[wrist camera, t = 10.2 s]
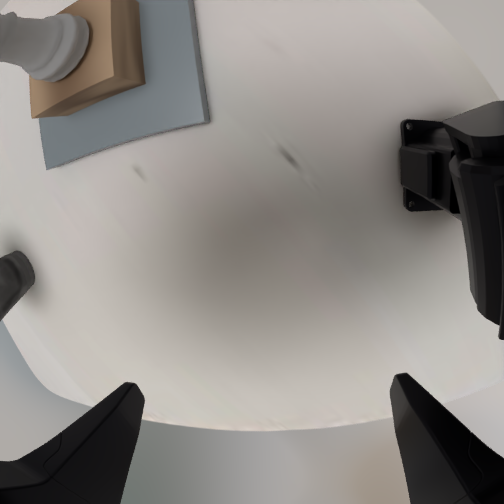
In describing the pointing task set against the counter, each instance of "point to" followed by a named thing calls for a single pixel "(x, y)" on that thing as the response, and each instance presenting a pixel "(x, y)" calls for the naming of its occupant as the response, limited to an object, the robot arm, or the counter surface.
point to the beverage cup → (14, 280)
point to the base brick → (96, 60)
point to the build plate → (140, 91)
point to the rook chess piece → (43, 44)
